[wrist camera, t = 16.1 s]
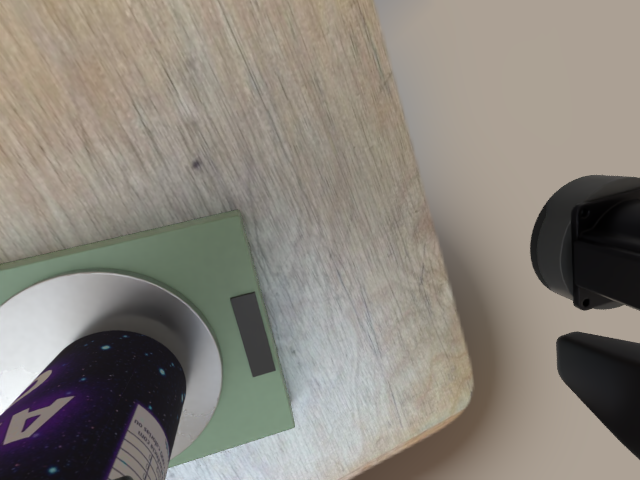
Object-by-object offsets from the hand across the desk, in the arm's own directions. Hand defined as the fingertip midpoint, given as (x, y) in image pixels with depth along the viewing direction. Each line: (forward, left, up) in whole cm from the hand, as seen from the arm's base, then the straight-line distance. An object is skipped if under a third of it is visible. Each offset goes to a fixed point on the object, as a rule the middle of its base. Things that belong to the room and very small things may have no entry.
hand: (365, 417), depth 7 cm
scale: (+9, +3, -13) cm, 16 cm away
